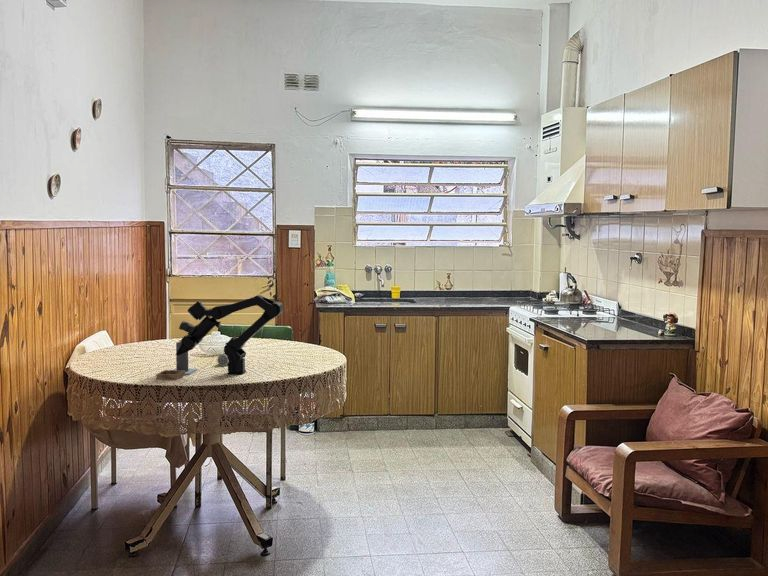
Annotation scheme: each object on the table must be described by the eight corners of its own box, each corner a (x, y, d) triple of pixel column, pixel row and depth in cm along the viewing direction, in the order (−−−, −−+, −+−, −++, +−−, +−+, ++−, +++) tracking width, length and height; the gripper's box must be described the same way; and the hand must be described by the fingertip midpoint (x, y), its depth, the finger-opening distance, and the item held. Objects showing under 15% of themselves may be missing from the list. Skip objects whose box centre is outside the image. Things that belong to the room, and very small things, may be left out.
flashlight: (230, 359, 341) (230, 348, 340) (241, 360, 340) (241, 349, 339) (217, 365, 326) (217, 354, 325) (228, 366, 325) (228, 354, 324)
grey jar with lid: (190, 370, 311) (190, 339, 310) (183, 372, 307) (183, 341, 306) (181, 369, 313) (181, 339, 312) (174, 371, 309) (173, 340, 307)
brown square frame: (185, 375, 304) (185, 370, 304) (177, 379, 295) (177, 375, 295) (165, 374, 305) (164, 370, 305) (156, 379, 296) (156, 374, 296)
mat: (197, 370, 314) (197, 368, 314) (189, 375, 305) (189, 373, 305) (175, 369, 315) (175, 368, 315) (166, 374, 306) (166, 373, 306)
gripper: (194, 312, 317) (169, 336, 318) (186, 317, 299) (159, 343, 299) (212, 329, 319) (188, 354, 319) (205, 336, 300) (179, 362, 300)
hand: (178, 353), depth 309 cm, fingers open, 9 cm apart
